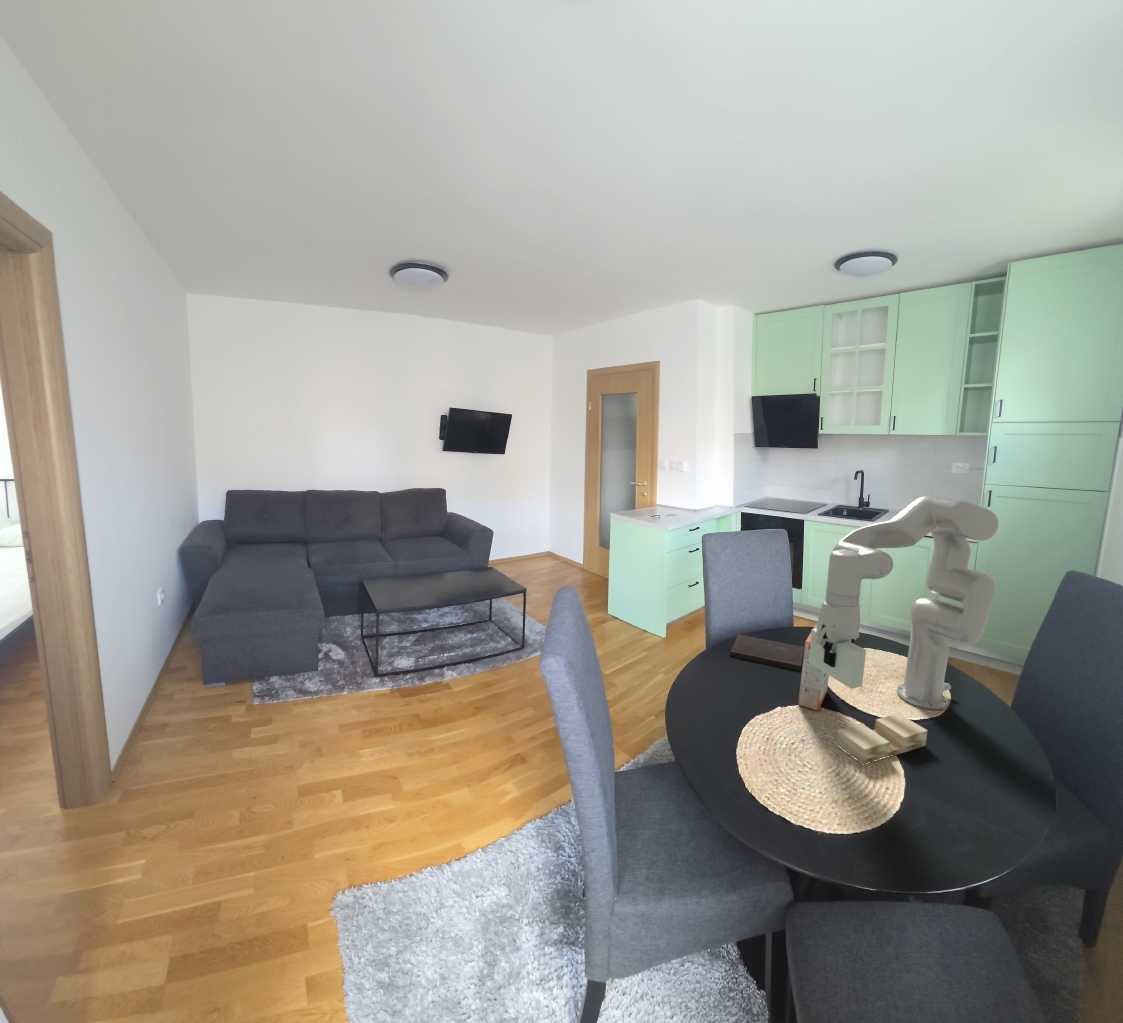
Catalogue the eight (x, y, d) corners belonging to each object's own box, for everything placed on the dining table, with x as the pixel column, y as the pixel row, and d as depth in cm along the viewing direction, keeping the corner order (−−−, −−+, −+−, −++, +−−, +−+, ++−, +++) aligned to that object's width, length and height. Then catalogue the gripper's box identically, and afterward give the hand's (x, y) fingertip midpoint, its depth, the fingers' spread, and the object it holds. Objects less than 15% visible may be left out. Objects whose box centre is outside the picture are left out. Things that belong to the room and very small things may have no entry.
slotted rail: (896, 727, 139) (898, 713, 138) (925, 745, 131) (927, 730, 131) (835, 745, 132) (837, 730, 131) (862, 765, 124) (864, 749, 123)
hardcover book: (737, 639, 194) (737, 634, 193) (803, 652, 183) (803, 647, 183) (729, 657, 180) (730, 651, 180) (800, 672, 169) (801, 666, 169)
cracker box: (819, 712, 146) (826, 646, 142) (797, 705, 150) (803, 640, 145) (828, 691, 157) (835, 629, 153) (808, 685, 160) (814, 624, 156)
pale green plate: (818, 660, 141) (821, 627, 139) (862, 686, 128) (866, 650, 126) (808, 662, 140) (811, 629, 137) (851, 688, 126) (855, 652, 124)
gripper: (854, 589, 135) (847, 652, 139) (805, 597, 130) (799, 662, 134) (879, 599, 128) (871, 664, 132) (828, 607, 123) (821, 675, 127)
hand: (835, 662), depth 133 cm, fingers closed on pale green plate, 3 cm apart
